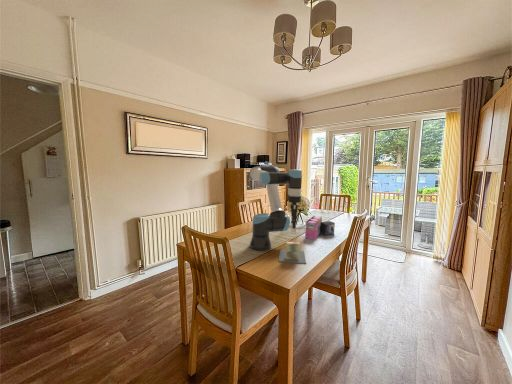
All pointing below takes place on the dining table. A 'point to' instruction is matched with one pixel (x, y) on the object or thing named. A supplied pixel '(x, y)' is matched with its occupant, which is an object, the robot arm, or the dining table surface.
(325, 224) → the small box
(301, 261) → the mat
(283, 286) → the dining table surface
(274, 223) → the robot arm
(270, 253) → the dining table surface
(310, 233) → the gum box
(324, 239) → the dining table surface
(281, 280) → the dining table surface
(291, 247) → the wooden block
